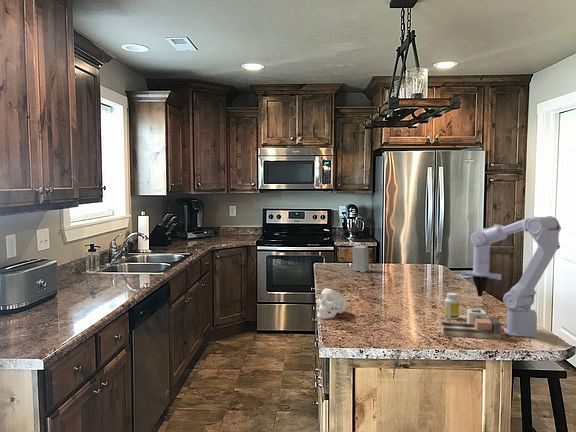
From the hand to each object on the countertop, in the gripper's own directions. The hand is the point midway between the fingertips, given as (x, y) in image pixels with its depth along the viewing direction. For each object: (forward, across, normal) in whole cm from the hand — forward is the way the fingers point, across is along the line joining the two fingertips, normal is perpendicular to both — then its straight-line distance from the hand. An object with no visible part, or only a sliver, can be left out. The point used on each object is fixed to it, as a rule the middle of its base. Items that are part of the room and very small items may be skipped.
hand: (480, 295), depth 185 cm
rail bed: (+10, -1, -17) cm, 20 cm away
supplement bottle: (+11, -11, +1) cm, 15 cm away
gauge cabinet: (+10, 0, -5) cm, 12 cm away
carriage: (+9, +3, -16) cm, 18 cm away
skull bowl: (+11, -55, -20) cm, 59 cm away
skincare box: (+11, -81, +79) cm, 114 cm away
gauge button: (+10, 0, -5) cm, 11 cm away
